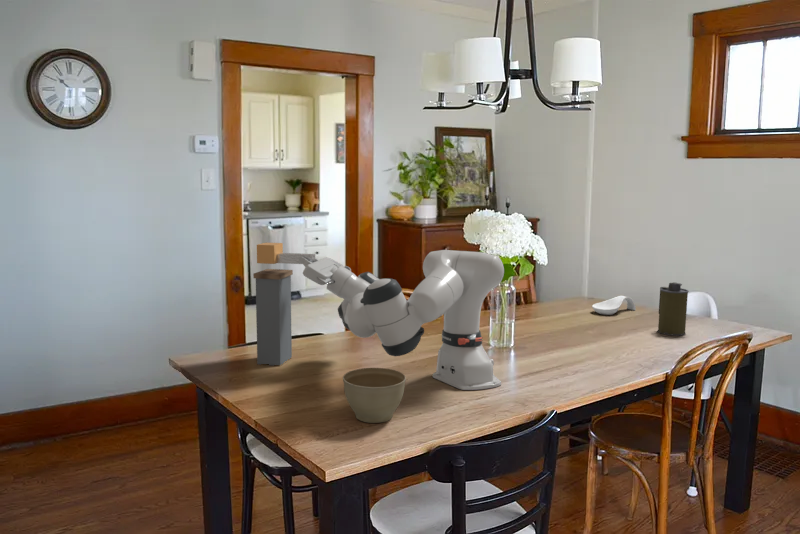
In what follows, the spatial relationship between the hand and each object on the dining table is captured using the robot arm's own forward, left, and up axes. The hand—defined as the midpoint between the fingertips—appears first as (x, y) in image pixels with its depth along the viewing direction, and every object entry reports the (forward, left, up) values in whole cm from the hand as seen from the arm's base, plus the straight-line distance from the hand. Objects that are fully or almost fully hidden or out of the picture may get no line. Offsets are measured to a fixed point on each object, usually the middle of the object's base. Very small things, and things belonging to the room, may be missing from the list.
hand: (302, 257), depth 222 cm
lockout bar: (+3, +4, -2) cm, 6 cm away
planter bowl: (-55, -4, -35) cm, 65 cm away
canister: (-9, -147, -35) cm, 152 cm away
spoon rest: (+31, -152, -36) cm, 159 cm away
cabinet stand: (+6, +8, -35) cm, 37 cm away
